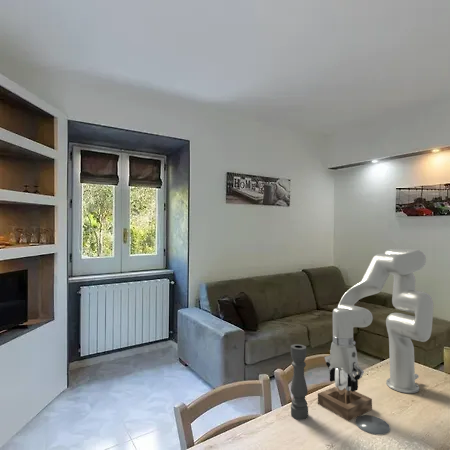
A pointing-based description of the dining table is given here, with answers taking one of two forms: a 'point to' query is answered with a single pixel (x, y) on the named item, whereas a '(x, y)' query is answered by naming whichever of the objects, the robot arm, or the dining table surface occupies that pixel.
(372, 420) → the coaster
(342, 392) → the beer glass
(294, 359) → the candle holder
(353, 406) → the frame
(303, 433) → the dining table surface
